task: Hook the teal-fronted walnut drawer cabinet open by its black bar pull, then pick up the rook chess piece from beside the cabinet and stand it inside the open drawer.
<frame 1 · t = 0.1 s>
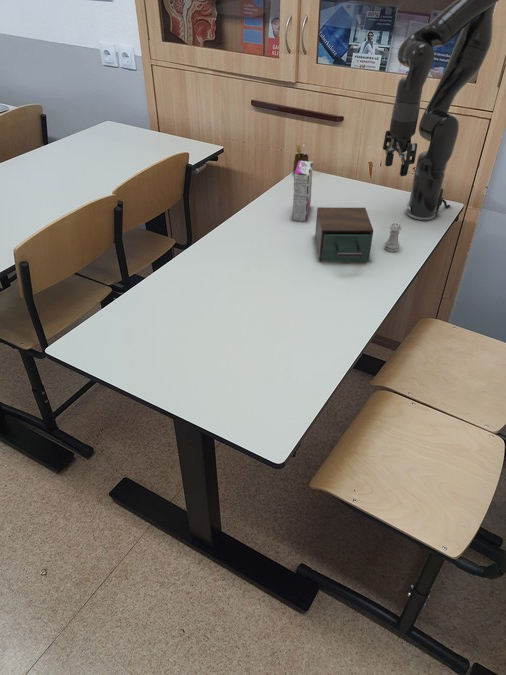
hand: (395, 170, 167), 17 cm above the table, tool pointing down, fingers open, 8 cm apart
candy bar box: (301, 214, 182), on the table
rook chess piece: (391, 249, 163), on the table
drawer: (344, 242, 156), point 5 cm above the table, slide at 0.5 cm
cabinet: (340, 248, 163), on the table
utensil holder: (300, 173, 209), on the table
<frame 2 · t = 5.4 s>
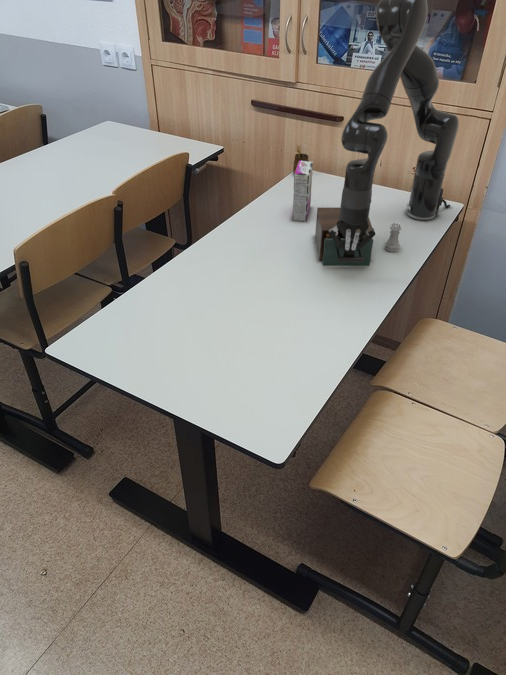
hand: (348, 260, 149), 5 cm above the table, tool pointing down, fingers closed
drawer: (345, 246, 154), point 5 cm above the table, slide at 3.0 cm
everything else where it was.
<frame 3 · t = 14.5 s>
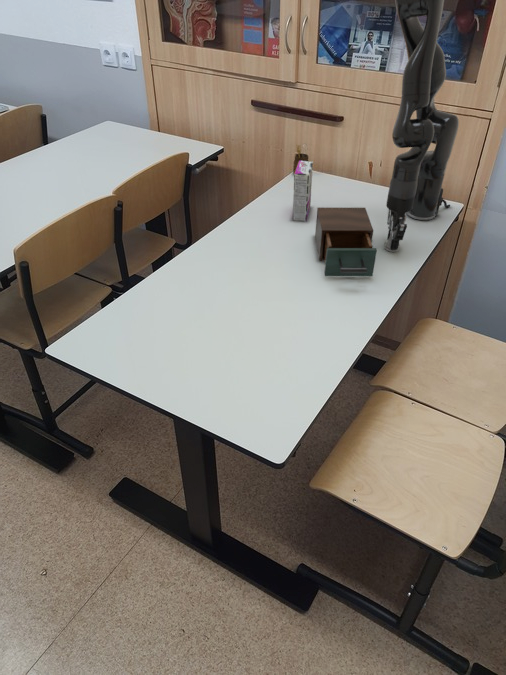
hand: (392, 245, 162), 1 cm above the table, tool pointing down, fingers closed on rook chess piece, 4 cm apart
rook chess piece: (391, 249, 163), on the table, touching gripper
drawer: (348, 256, 150), point 5 cm above the table, slide at 8.4 cm
everything else where it was.
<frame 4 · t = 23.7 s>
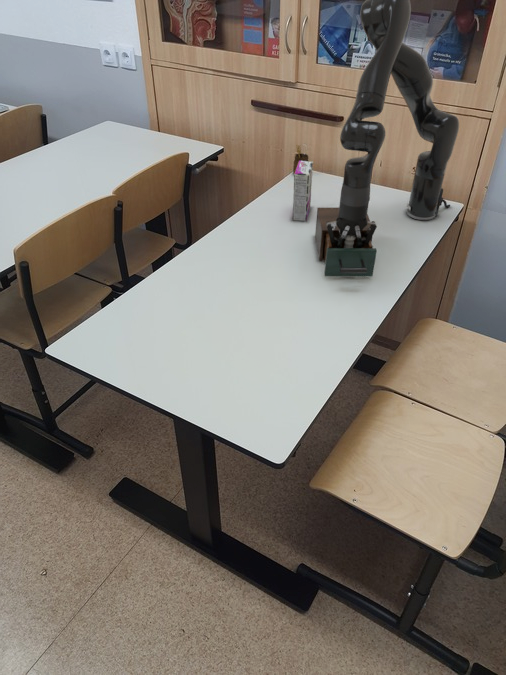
hand: (347, 255, 152), 4 cm above the table, tool pointing down, fingers closed on rook chess piece, 4 cm apart
rook chess piece: (346, 260, 153), point 3 cm above the table, touching gripper
drawer: (348, 256, 150), point 5 cm above the table, slide at 8.5 cm, touching gripper, hand
everything else where it was.
when the fingers open (5 cm above the table, at t = 27.6 s): rook chess piece stays where it is, resting on drawer.
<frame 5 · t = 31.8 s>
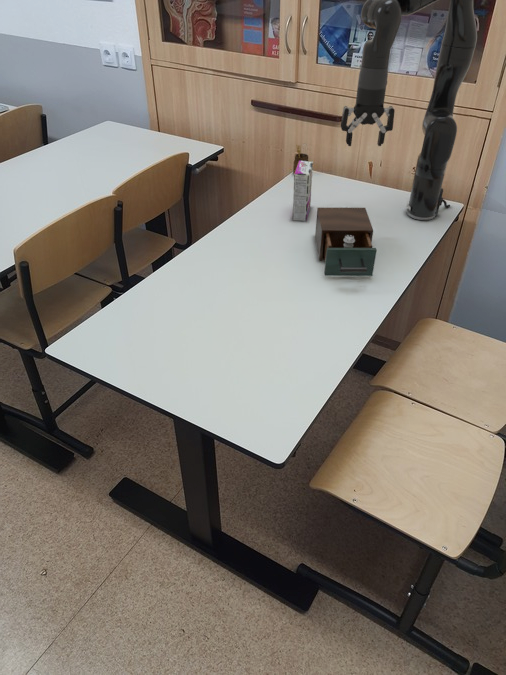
hand: (364, 145, 153), 28 cm above the table, tool pointing down, fingers open, 8 cm apart
rook chess piece: (346, 262, 154), point 2 cm above the table, touching drawer
drawer: (348, 255, 150), point 5 cm above the table, slide at 8.2 cm, touching rook chess piece
everything else where it was.
at the end: drawer slide at 8.2 cm; rook chess piece 0.6 cm from the target spot in the drawer, point 1.8 cm above the cabinet's base; rook chess piece tilted 0° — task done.
